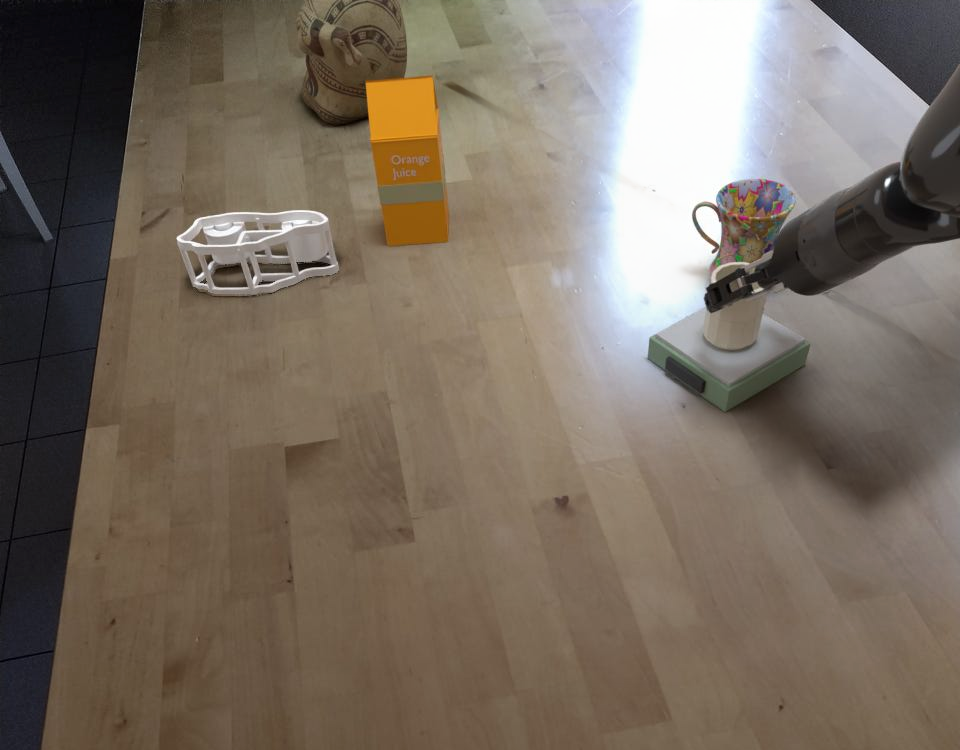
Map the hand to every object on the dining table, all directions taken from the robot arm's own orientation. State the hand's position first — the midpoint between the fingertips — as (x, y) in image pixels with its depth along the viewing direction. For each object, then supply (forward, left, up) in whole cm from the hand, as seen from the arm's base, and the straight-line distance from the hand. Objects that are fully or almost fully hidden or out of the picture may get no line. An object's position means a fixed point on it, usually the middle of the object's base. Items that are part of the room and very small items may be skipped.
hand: (741, 291), depth 98 cm
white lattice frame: (+33, -56, -10) cm, 65 cm away
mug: (-13, -13, -10) cm, 21 cm away
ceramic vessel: (-4, -92, -10) cm, 92 cm away
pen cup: (0, -1, -6) cm, 6 cm away
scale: (0, -1, -10) cm, 10 cm away
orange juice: (+11, -51, -10) cm, 53 cm away
